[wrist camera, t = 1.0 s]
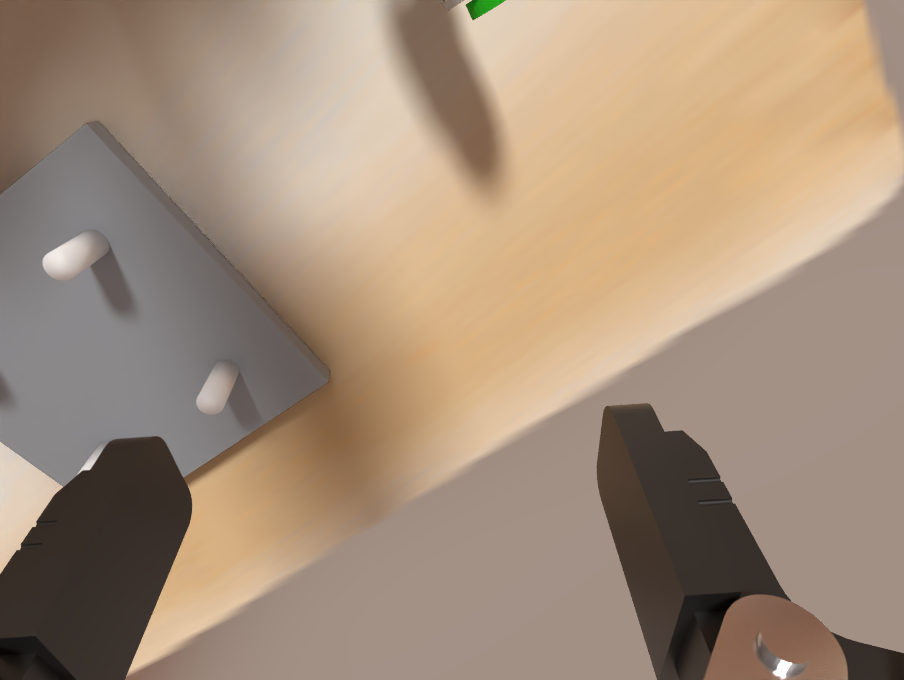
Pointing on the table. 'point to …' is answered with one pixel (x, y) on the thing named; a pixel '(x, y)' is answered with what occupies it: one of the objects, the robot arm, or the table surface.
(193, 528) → the table surface
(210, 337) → the peg cradle
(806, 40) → the table surface
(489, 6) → the mechanical component
